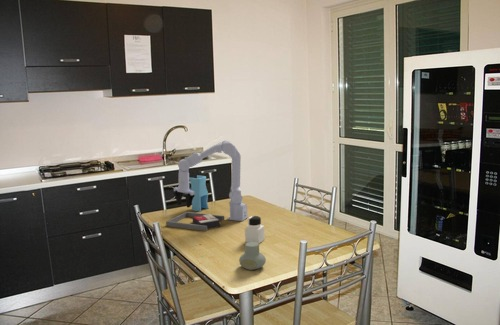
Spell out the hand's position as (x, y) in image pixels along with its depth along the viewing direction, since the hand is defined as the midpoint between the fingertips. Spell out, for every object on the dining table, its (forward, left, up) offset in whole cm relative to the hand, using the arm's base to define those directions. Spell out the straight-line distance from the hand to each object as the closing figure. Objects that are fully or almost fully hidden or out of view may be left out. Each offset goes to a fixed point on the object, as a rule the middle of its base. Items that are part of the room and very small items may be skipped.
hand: (183, 205), depth 251 cm
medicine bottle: (-48, +13, -10) cm, 51 cm away
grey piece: (-6, -2, -10) cm, 12 cm away
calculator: (-12, -2, -10) cm, 16 cm away
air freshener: (-60, +42, -10) cm, 74 cm away
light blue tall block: (+7, -27, -10) cm, 29 cm away
